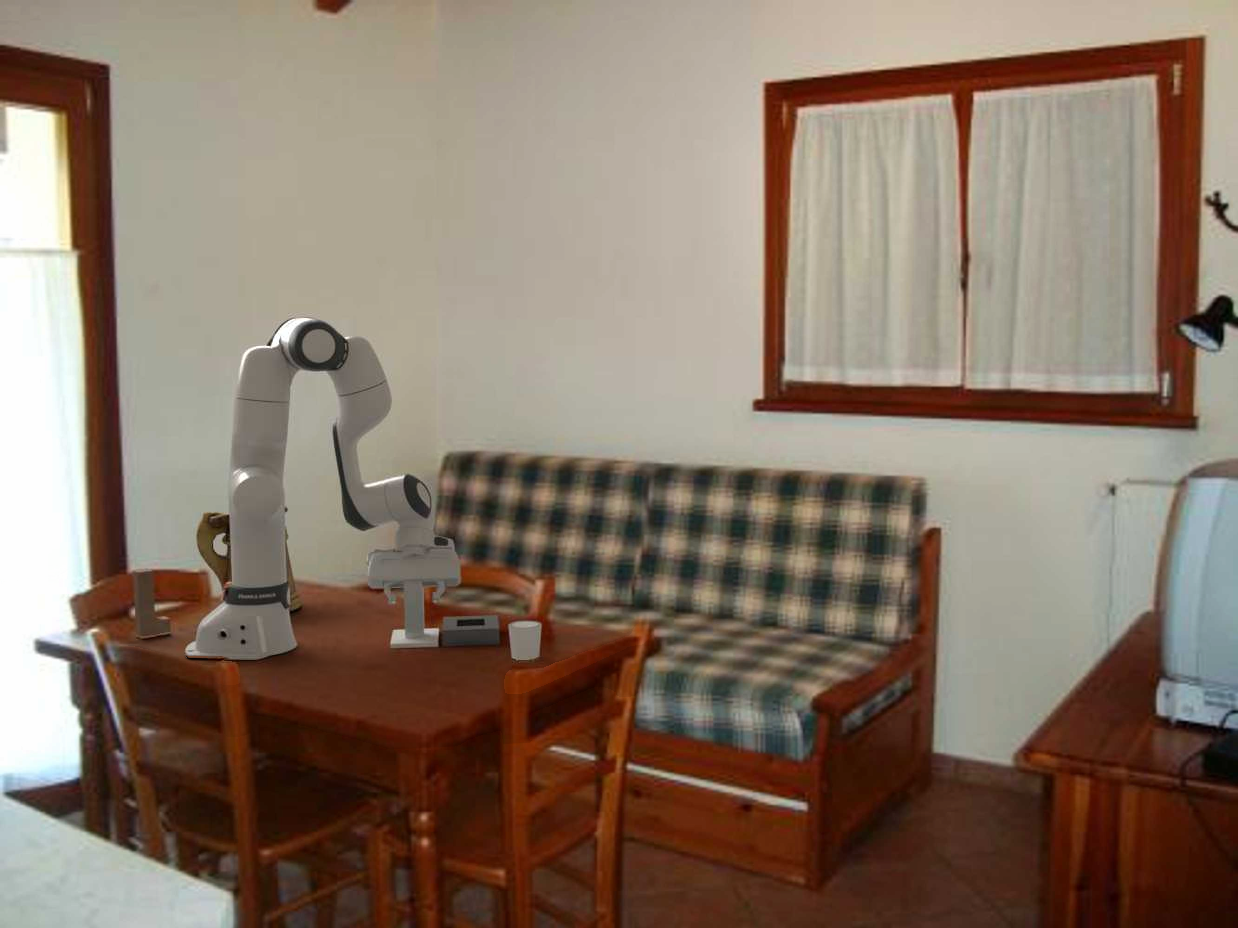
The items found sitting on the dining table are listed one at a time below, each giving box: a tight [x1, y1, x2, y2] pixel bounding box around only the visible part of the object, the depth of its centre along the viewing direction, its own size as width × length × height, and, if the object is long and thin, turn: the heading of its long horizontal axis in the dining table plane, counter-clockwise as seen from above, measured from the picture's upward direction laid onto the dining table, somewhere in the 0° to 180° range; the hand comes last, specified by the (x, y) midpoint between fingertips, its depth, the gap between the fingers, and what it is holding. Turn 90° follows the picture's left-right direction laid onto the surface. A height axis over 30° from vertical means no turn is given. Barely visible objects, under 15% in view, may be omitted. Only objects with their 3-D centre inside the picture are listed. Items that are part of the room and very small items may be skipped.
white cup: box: [507, 620, 542, 661], centre depth 253 cm, size 7×7×7 cm
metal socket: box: [442, 614, 501, 647], centre depth 268 cm, size 12×12×4 cm
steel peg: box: [403, 580, 425, 638], centre depth 266 cm, size 4×4×12 cm
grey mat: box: [389, 627, 440, 649], centre depth 267 cm, size 10×12×1 cm
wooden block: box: [132, 567, 172, 636], centre depth 271 cm, size 7×3×15 cm, turn 131°
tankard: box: [195, 506, 302, 613], centre depth 293 cm, size 18×24×25 cm
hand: (414, 601), depth 265 cm, fingers open, 8 cm apart
